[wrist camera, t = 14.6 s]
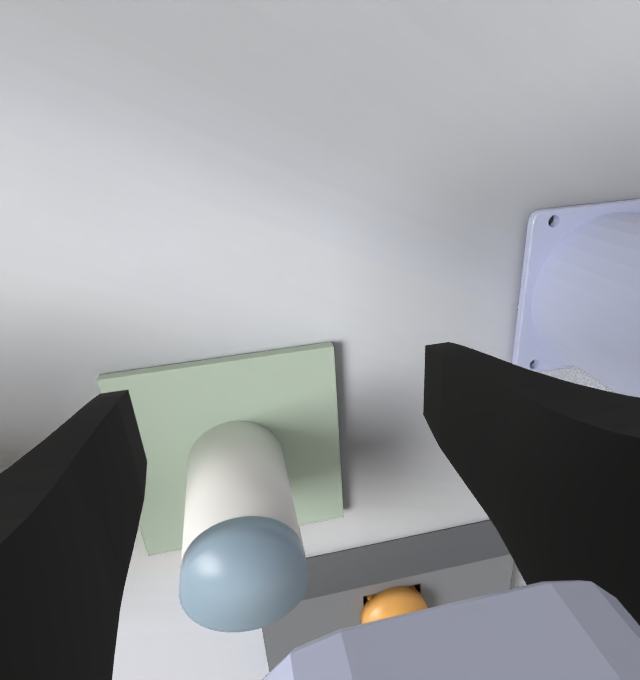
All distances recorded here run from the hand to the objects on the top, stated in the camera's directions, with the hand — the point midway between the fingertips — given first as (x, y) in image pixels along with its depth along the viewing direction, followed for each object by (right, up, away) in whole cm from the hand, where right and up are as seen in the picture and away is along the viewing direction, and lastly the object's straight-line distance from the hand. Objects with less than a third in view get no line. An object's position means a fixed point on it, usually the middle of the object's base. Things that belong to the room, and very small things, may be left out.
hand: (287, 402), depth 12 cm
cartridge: (-3, -4, +11) cm, 12 cm away
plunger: (+4, -12, +16) cm, 21 cm away
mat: (-3, -4, +11) cm, 13 cm away
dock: (+5, -16, +18) cm, 24 cm away
